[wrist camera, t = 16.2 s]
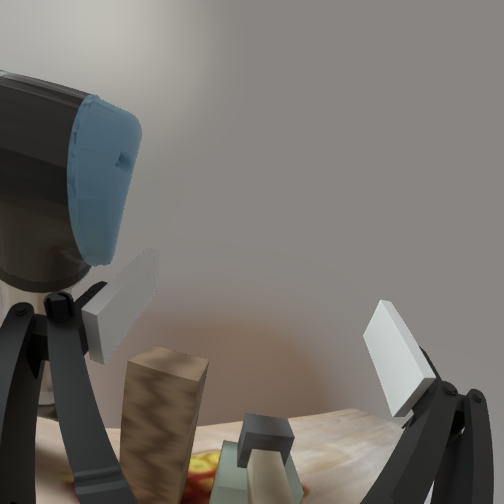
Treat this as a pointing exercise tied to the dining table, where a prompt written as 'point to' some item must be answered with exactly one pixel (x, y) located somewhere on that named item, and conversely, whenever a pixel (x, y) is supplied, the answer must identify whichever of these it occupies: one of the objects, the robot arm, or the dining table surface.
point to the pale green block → (243, 479)
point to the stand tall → (160, 422)
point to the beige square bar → (265, 458)
